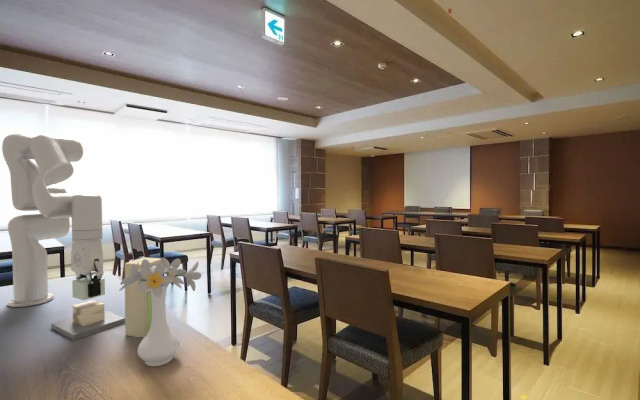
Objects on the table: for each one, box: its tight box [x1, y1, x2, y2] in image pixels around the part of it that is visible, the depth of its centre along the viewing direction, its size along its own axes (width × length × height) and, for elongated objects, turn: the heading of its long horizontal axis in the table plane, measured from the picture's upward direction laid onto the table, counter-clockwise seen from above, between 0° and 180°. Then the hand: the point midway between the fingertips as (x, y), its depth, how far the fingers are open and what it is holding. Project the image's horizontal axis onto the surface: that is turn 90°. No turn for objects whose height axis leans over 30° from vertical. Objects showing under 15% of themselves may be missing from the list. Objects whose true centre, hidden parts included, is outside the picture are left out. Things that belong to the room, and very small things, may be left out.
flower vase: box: [118, 257, 202, 367], centre depth 83 cm, size 13×18×25 cm
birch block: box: [72, 299, 105, 326], centre depth 102 cm, size 6×6×5 cm
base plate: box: [50, 309, 125, 341], centre depth 102 cm, size 14×14×2 cm
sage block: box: [71, 275, 106, 301], centre depth 101 cm, size 6×6×5 cm
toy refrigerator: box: [124, 256, 164, 338], centre depth 98 cm, size 8×7×21 cm
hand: (88, 293), depth 101 cm, fingers closed on sage block, 6 cm apart
